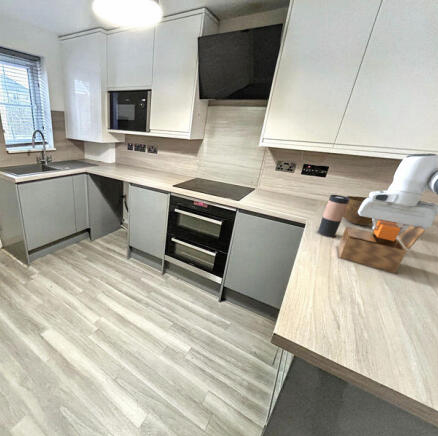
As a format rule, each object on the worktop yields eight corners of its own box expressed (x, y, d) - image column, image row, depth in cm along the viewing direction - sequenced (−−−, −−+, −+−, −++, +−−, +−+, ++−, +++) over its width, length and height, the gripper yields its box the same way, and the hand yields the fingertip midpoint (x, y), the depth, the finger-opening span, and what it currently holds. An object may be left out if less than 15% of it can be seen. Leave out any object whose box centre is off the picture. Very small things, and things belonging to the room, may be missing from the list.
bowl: (360, 230, 129) (371, 204, 123) (329, 218, 146) (337, 195, 140) (385, 229, 133) (397, 204, 127) (352, 217, 150) (362, 195, 145)
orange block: (389, 234, 94) (395, 223, 93) (394, 241, 88) (400, 229, 86) (373, 231, 97) (378, 219, 95) (376, 237, 91) (382, 225, 89)
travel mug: (316, 229, 126) (328, 193, 118) (333, 233, 123) (347, 196, 116) (318, 234, 119) (332, 197, 112) (336, 238, 116) (352, 200, 109)
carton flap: (398, 237, 95) (399, 238, 95) (407, 249, 85) (408, 249, 85) (413, 220, 91) (414, 220, 91) (423, 229, 81) (425, 230, 81)
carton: (388, 259, 99) (399, 237, 95) (395, 273, 89) (407, 249, 85) (338, 246, 108) (346, 226, 104) (339, 257, 97) (348, 235, 94)
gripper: (439, 202, 84) (420, 237, 89) (365, 191, 95) (352, 222, 100) (446, 206, 79) (426, 243, 84) (367, 194, 90) (353, 227, 95)
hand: (385, 232), depth 92 cm, fingers closed on orange block, 5 cm apart
